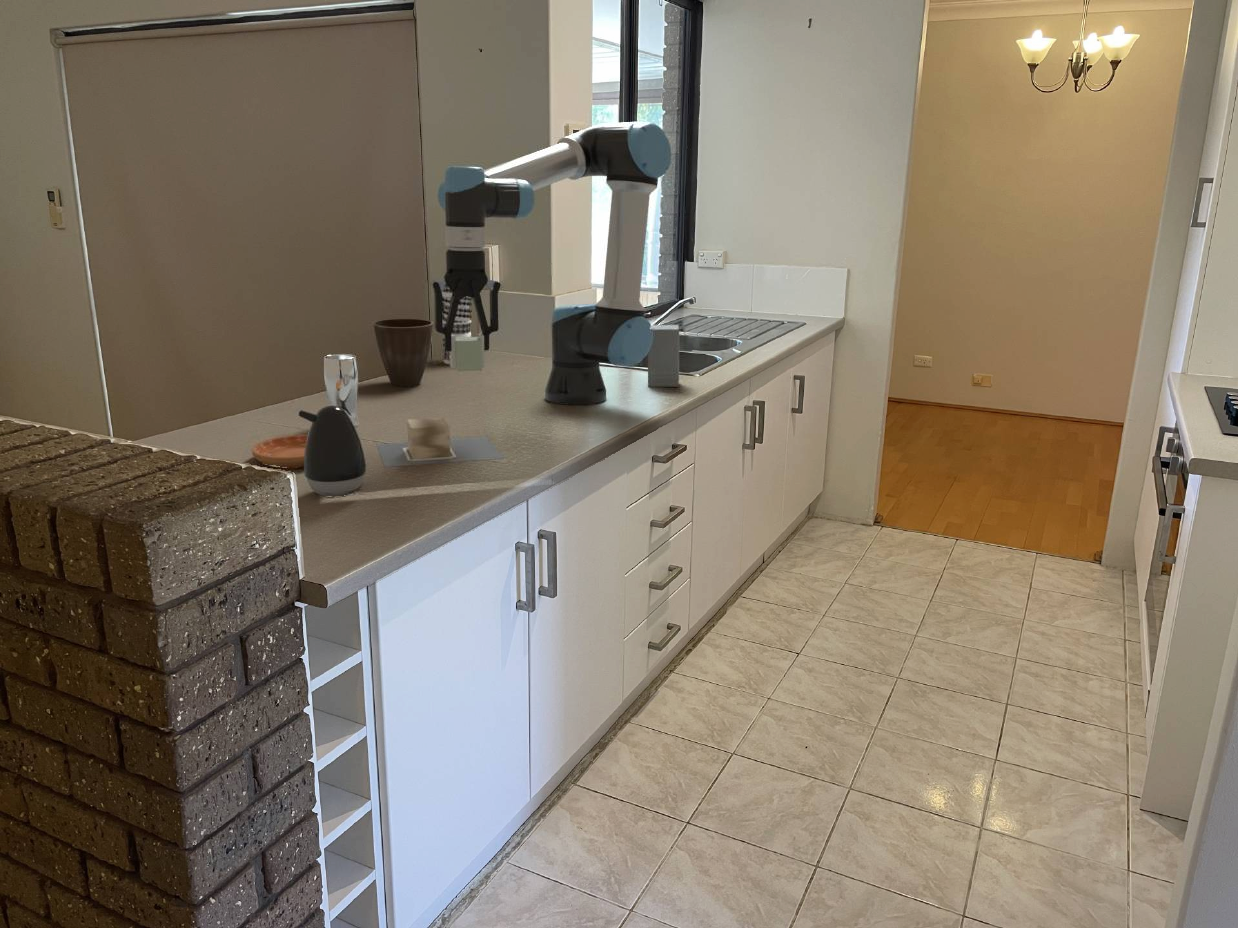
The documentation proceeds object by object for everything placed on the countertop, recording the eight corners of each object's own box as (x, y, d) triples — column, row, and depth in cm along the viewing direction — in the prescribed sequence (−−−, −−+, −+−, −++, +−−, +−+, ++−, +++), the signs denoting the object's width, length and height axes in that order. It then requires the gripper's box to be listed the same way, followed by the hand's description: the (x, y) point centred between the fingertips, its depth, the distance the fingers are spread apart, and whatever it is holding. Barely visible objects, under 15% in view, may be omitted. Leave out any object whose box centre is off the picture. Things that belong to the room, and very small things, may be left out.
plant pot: (444, 386, 246) (442, 324, 242) (389, 392, 238) (386, 328, 234) (421, 376, 258) (419, 317, 253) (368, 381, 250) (364, 320, 245)
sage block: (477, 366, 195) (477, 337, 193) (482, 370, 190) (481, 340, 188) (453, 366, 193) (452, 337, 191) (457, 371, 189) (456, 341, 187)
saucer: (255, 475, 171) (254, 459, 170) (250, 452, 185) (249, 438, 184) (346, 467, 177) (345, 451, 176) (335, 445, 191) (334, 431, 190)
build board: (487, 442, 194) (487, 436, 194) (503, 464, 180) (503, 457, 180) (377, 450, 188) (376, 443, 187) (385, 473, 173) (384, 466, 173)
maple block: (444, 447, 186) (443, 417, 184) (450, 456, 180) (449, 426, 178) (408, 449, 184) (407, 419, 182) (412, 459, 178) (411, 428, 176)
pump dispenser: (311, 483, 167) (305, 399, 162) (372, 483, 167) (367, 399, 163) (297, 502, 157) (290, 413, 152) (362, 501, 158) (356, 413, 153)
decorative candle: (455, 366, 273) (453, 278, 265) (435, 361, 278) (432, 275, 271) (480, 362, 279) (478, 276, 272) (460, 358, 285) (457, 273, 278)
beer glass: (367, 423, 208) (363, 355, 204) (348, 430, 202) (344, 360, 197) (340, 419, 210) (335, 352, 206) (321, 427, 204) (316, 358, 200)
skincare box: (678, 383, 256) (681, 324, 251) (677, 388, 249) (680, 328, 244) (647, 382, 256) (649, 323, 252) (645, 387, 250) (647, 327, 245)
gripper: (421, 249, 179) (424, 371, 185) (515, 250, 184) (515, 369, 191) (416, 247, 186) (419, 365, 192) (507, 248, 191) (507, 362, 198)
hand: (467, 366), depth 192 cm, fingers closed on sage block, 5 cm apart
